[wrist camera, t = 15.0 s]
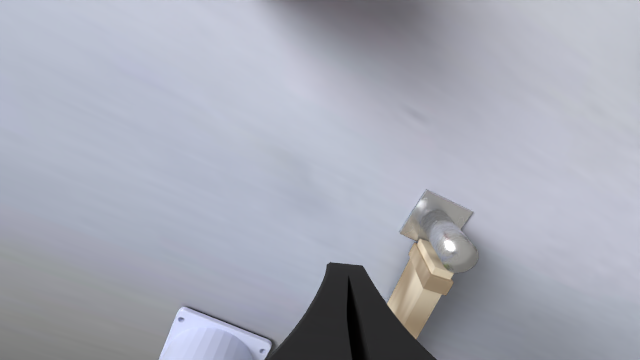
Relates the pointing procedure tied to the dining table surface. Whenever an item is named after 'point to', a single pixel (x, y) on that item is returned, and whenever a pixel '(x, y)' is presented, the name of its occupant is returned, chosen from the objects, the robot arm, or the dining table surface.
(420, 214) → the chrome post on plate
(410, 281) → the wooden capped beam
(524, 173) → the dining table surface
